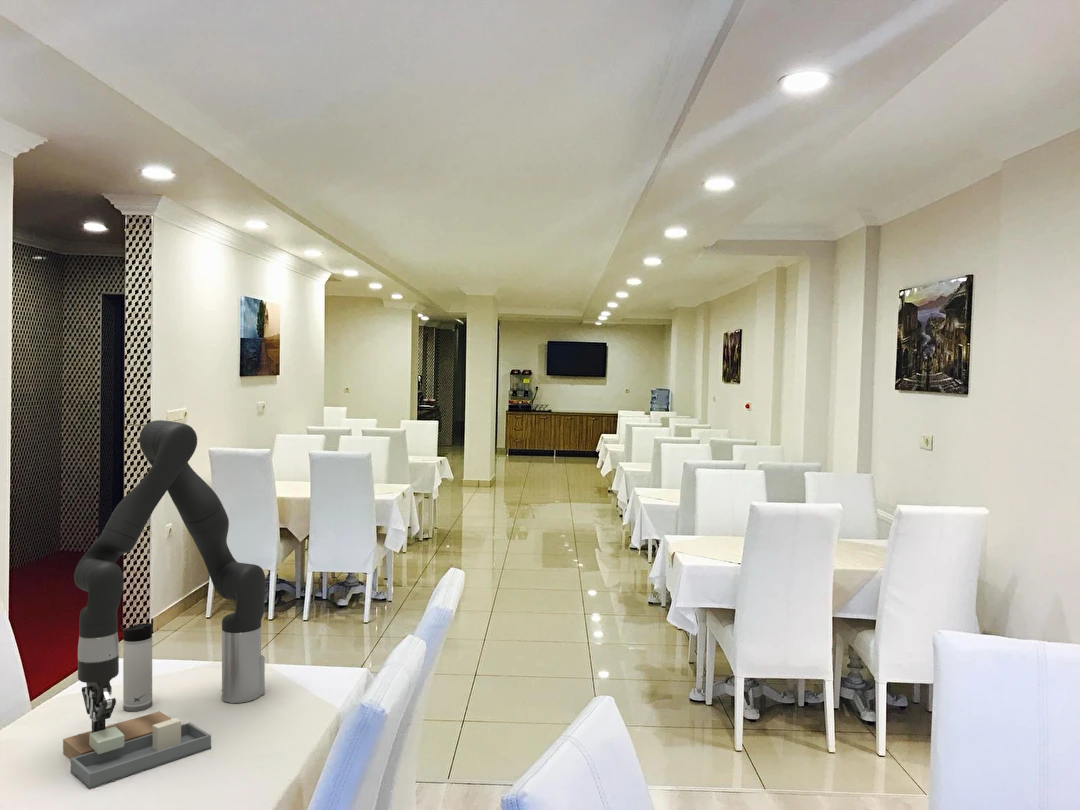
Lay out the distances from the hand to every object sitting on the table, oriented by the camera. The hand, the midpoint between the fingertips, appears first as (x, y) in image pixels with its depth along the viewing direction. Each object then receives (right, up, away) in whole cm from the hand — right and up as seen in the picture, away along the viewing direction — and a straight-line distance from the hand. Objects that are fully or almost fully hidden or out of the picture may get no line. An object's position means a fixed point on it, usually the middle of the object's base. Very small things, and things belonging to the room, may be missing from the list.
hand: (98, 737), depth 171 cm
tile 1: (+3, -1, -3) cm, 4 cm away
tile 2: (+12, -1, +4) cm, 13 cm away
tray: (+11, -4, -2) cm, 11 cm away
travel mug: (-4, -3, +25) cm, 26 cm away
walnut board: (+3, -4, +5) cm, 6 cm away
